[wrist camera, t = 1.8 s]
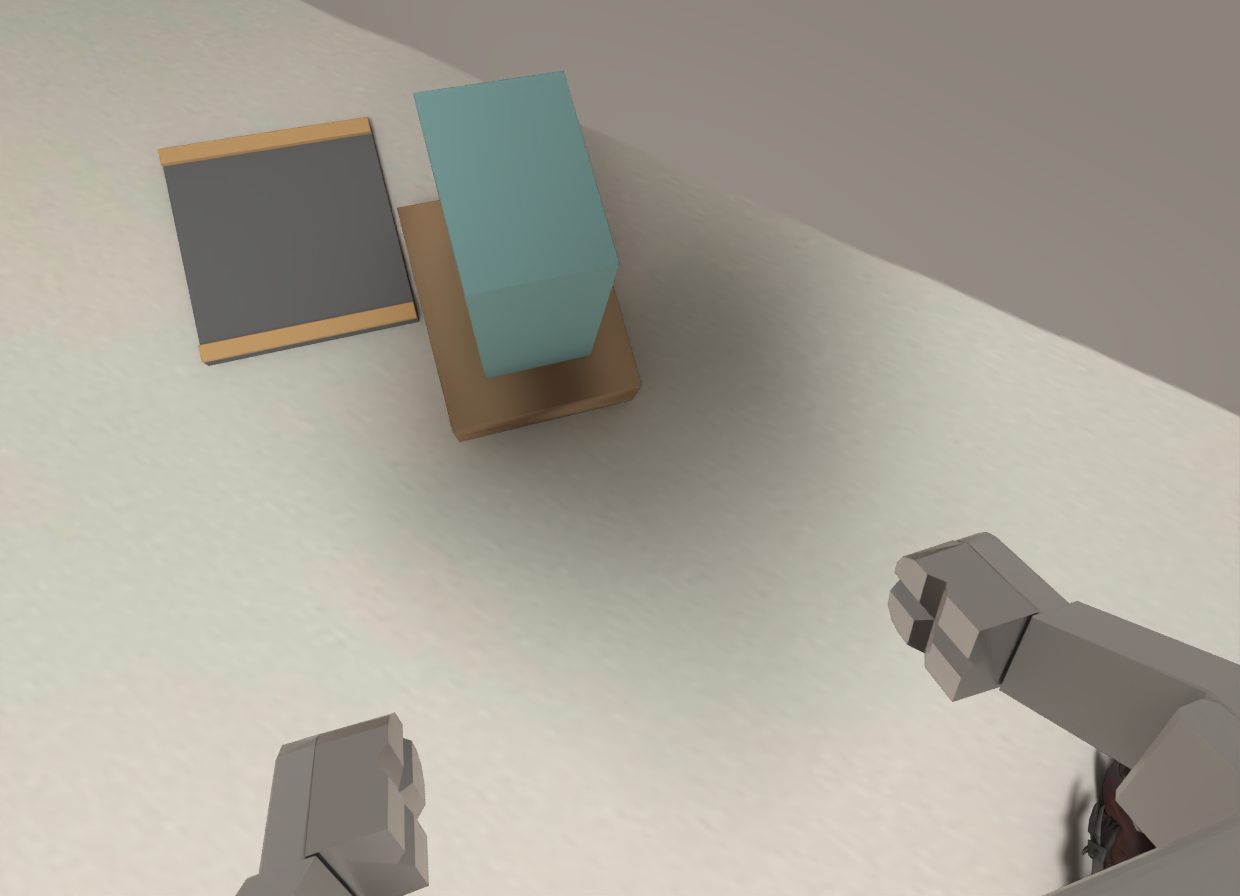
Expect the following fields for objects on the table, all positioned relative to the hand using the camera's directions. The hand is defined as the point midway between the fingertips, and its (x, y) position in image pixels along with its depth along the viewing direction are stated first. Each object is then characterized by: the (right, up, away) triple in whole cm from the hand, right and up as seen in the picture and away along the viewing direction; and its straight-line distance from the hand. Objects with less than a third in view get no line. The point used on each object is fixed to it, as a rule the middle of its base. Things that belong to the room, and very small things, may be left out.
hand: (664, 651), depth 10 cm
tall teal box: (-5, +10, +20) cm, 24 cm away
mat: (-17, +14, +22) cm, 31 cm away
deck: (-6, +10, +23) cm, 26 cm away
